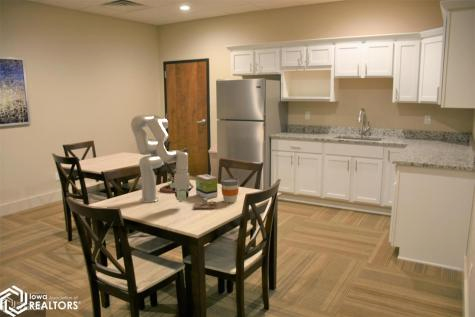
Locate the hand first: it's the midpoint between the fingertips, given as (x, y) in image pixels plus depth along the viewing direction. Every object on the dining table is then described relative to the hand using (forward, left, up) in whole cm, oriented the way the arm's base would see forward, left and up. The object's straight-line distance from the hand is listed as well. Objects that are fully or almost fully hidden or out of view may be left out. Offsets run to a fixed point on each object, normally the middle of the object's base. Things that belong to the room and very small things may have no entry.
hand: (181, 197), depth 249 cm
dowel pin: (+1, +20, -6) cm, 21 cm away
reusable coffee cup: (-13, +32, -7) cm, 35 cm away
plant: (-48, -12, -7) cm, 50 cm away
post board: (-1, +15, -7) cm, 17 cm away
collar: (+2, 0, -1) cm, 2 cm away
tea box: (-28, +15, -7) cm, 33 cm away
